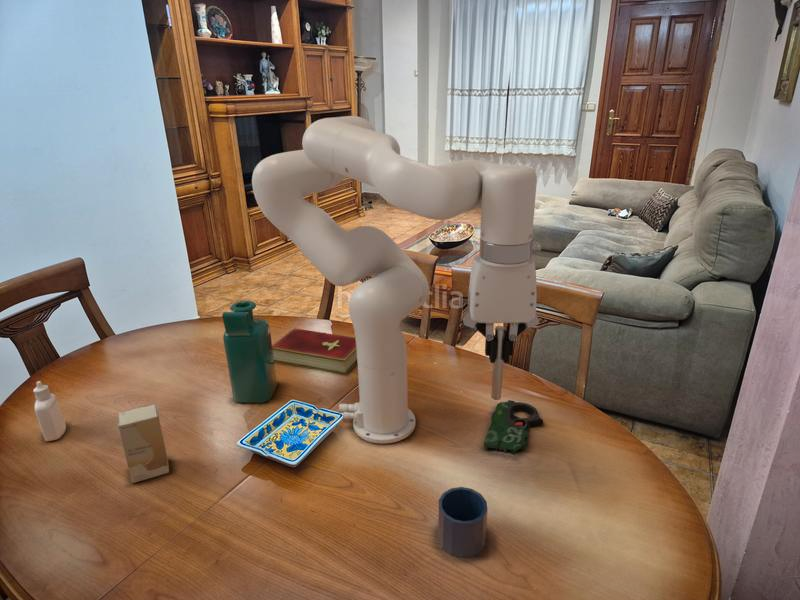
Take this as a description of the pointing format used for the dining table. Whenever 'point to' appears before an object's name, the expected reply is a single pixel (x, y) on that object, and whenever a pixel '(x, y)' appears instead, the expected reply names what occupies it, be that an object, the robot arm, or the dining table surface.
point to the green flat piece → (510, 427)
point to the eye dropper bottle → (48, 413)
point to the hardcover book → (316, 351)
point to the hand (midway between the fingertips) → (498, 358)
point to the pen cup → (462, 522)
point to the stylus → (498, 363)
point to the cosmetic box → (143, 443)
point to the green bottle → (249, 354)
